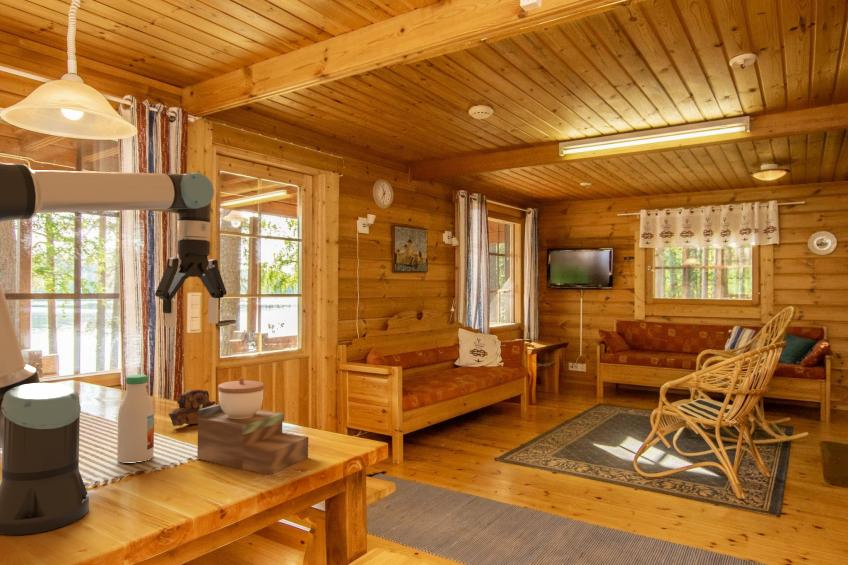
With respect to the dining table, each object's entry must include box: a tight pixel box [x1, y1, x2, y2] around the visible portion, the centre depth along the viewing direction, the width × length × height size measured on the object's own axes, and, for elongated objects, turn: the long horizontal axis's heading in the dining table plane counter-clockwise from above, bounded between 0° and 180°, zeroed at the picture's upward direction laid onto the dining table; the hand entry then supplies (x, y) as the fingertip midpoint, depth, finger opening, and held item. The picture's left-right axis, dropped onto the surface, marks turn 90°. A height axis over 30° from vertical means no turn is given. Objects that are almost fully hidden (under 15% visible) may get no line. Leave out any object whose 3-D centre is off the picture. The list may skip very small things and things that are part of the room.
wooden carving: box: [168, 389, 216, 427], centre depth 170 cm, size 16×5×10 cm, turn 162°
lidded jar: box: [217, 377, 265, 419], centre depth 141 cm, size 11×11×9 cm
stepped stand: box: [196, 403, 309, 475], centre depth 140 cm, size 14×22×12 cm, turn 65°
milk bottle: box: [116, 374, 155, 462], centre depth 137 cm, size 8×8×20 cm
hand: (192, 325), depth 143 cm, fingers open, 13 cm apart
